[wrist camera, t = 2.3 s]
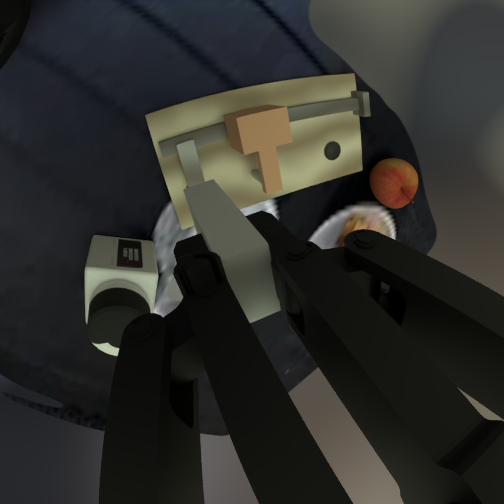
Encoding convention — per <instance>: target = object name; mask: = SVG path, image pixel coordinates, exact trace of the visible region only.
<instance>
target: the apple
mask: <svg viewBox="0 0 504 504" xmlns="http://www.w3.org/2000/svg"><path fill="white" fill-rule="evenodd" d="M369 181H370V186H371V189H372V192H373V193H374V195H375V197H376V198H377V199H378V200H379V201H380V202H381V203H382V204H384V205H385V206H388V207H390V208H401V207H403V206H405V205H406V204H408V203H409V202H410V201H411V202H412V203H414V201H412V200H411V199H412V198H413V196H414V195H415V193H416V190H417V186H418V176H417V173H416V171H415V169H414V168H413V167H412V166H411V165H410V164H409V163H407V162H406V161H404V160H401V159H397V158H389V159H384V160H382V161H380V162H378V163H377V164H376V165H375V166H374V168H373V169H372V171H371V173H370V178H369Z"/></svg>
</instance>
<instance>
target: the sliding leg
mask: <svg viewBox="0 0 504 504" xmlns="http://www.w3.org/2000/svg"><path fill="white" fill-rule="evenodd" d="M223 116H224V120H225V125H226V129H227V133H228V138H229V142H230V147H232V148H233V149H235V150H237V151H238V152H240V153H242V154H243V155H247V154H250V153H254V152H256V157H257V162H258V167H259V169H254V170H253V171H252V173H251V175H252V177H253V178H255V179H256V180H257V181H259V182H260V183H261V184H262V188H263V192H264V193H266V194H270V193H273V192H277V191H280V190H283V187H282V181H281V174H280V168H279V162H278V156H277V150H276V146H280V145H284V144H288V143H292V142H293V141H292V135H291V129H290V122H289V116H288V110H287V107H285V106H278V105H270V104H267V105H262V106H257V107H253V108H248V109H244V110H240V111H236V112H232V113H228V114H224V115H223Z"/></svg>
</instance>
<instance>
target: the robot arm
mask: <svg viewBox="0 0 504 504" xmlns="http://www.w3.org/2000/svg"><path fill="white" fill-rule="evenodd" d="M29 11H30V0H0V68H1V67H2V66H3V64H4V63H5V62H6V61H7V59H8V58H9V57H10V55H11V54H12V52H13V51H14V49H15V47H16V46H17V44H18V42H19V40H20V38H21V36H22V34H23V31H24V29H25V26H26V23H27V20H28V16H29ZM183 191H184V194H185V197H186V200H187V204H188V207H189V210H190V213H191V216H192V219H193V222H194V225H195V228H196V231H197V235H195V236H192V237H189V238H187V239H184V240H181V241H178V242H177V243H176V246H175V248H174V254H175V258H176V262H177V265H176V266H175V268H174V274H173V275H174V277H175V279H176V282H177V284H178V286H179V288H180V290H181V293H182V295H183V299H182V301H181V303H180V304H179V305H178V307H177V308H176V309H174V310H173V311H172V312H171V313H169V314H168V315H166V316H165V317H162V316H161V315H158V314H155V313H146V314H143V315H140V316H138V317H136V318H135V319H133V320H132V321H131V322H130V323H129V324H128V325H127V326H126V327H125V330H124V332H123V334H122V338H121V343H120V347H119V352H118V357H117V361H116V366H115V371H114V377H113V382H112V388H111V393H110V399H109V405H108V412H107V419H106V426H105V435H104V443H103V451H102V461H101V474H100V488H99V504H204V493H203V479H202V463H201V447H200V446H201V445H200V421H199V383H198V376H199V375H200V374H201V373H203V372H204V371H206V372H207V375H208V377H209V380H210V383H211V386H212V389H213V392H214V395H215V397H216V400H217V403H218V406H219V408H220V411H221V414H222V417H223V419H224V422H225V424H226V427H227V430H228V432H229V435H230V437H231V440H232V442H233V445H234V447H235V450H236V452H237V454H238V457H239V459H240V462H241V464H242V466H243V469H244V471H245V473H246V476H247V478H248V480H249V483H250V485H251V487H252V489H253V492H254V494H255V496H256V498H257V500H258V502H259V504H353V502H352V501H351V499H350V498H349V496H348V494H347V493H346V491H345V490H344V488H343V486H342V485H341V483H340V481H339V480H338V478H337V477H336V475H335V473H334V472H333V470H332V468H331V467H330V465H329V463H328V462H327V460H326V458H325V457H324V455H323V453H322V452H321V450H320V448H319V447H318V445H317V443H316V441H315V440H314V438H313V436H312V435H311V433H310V431H309V430H308V428H307V426H306V424H305V422H304V421H303V420H302V417H301V415H300V414H299V412H298V410H297V408H296V407H295V405H294V403H293V402H292V400H291V398H290V396H289V394H288V392H287V391H286V389H285V387H284V385H283V383H282V382H281V380H280V378H279V376H278V374H277V373H276V371H275V369H274V367H273V365H272V363H271V362H270V360H269V358H268V356H267V354H266V352H265V351H264V349H263V347H262V345H261V343H260V341H259V339H258V338H257V336H256V334H255V332H254V330H253V328H252V326H251V324H250V323H251V322H254V321H256V320H259V319H261V318H263V317H266V316H268V315H270V314H273V313H275V312H278V311H280V310H281V309H280V303H279V300H280V302H281V303H282V305H283V306H284V308H285V313H286V319H287V325H288V330H289V333H290V335H291V334H293V330H292V328H293V329H294V331H295V332H296V334H297V335H298V337H299V338H300V340H301V341H302V343H303V344H304V346H305V347H306V349H307V350H308V352H309V353H310V355H311V356H312V358H313V359H314V361H315V362H316V364H317V365H318V367H319V368H320V370H321V371H322V373H323V374H324V376H325V377H326V379H327V380H328V382H329V383H330V385H331V386H332V388H333V389H334V391H335V392H336V394H337V395H338V397H339V398H340V400H341V401H342V403H343V404H344V406H345V407H346V409H347V410H348V412H349V413H350V414H351V416H352V418H353V419H354V421H355V422H356V423H357V425H358V427H359V428H360V429H361V431H362V432H363V434H364V435H365V437H366V438H367V440H368V441H369V443H370V444H371V446H372V447H373V449H374V450H375V452H376V453H377V455H378V456H379V457H380V459H381V460H382V462H383V463H384V465H385V466H386V468H387V469H388V471H389V472H390V474H391V475H392V476H393V478H394V479H395V481H396V482H397V484H398V486H399V488H400V495H401V498H402V501H403V502H404V504H504V421H501V420H488V419H486V418H484V417H483V416H482V415H481V414H480V413H479V412H478V411H477V410H476V409H475V407H474V406H473V405H472V404H471V403H470V402H469V401H468V399H467V398H466V397H465V396H464V395H463V394H462V393H461V392H460V390H459V389H461V390H462V391H463V392H465V393H466V394H468V395H469V396H471V397H472V398H474V399H475V400H477V401H478V402H479V403H481V404H482V405H484V406H485V407H486V408H488V409H489V410H491V411H492V412H494V413H495V414H496V415H498V416H499V417H501V418H502V419H504V297H503V296H502V295H500V294H498V293H497V292H495V291H493V290H491V289H489V288H488V287H486V286H484V285H482V284H481V283H479V282H477V281H475V280H473V279H471V278H469V277H468V276H466V275H464V274H462V273H460V272H458V271H457V270H454V269H453V268H451V267H449V266H447V265H445V264H443V263H441V262H439V261H437V260H435V259H433V258H431V257H429V256H427V255H425V254H423V253H421V252H419V251H417V250H415V249H413V248H411V247H409V246H407V245H405V244H403V243H400V242H398V241H396V240H394V239H392V238H390V237H388V236H385V235H383V234H381V233H379V232H376V231H373V230H366V229H361V230H355V231H353V232H351V233H349V234H348V235H347V236H346V237H345V240H344V246H343V247H337V248H331V249H321V248H320V247H319V246H318V245H316V244H314V243H313V242H310V241H306V240H298V239H297V238H296V237H295V236H294V235H293V234H292V233H291V232H290V231H289V230H288V229H287V228H286V227H285V226H283V224H282V223H281V222H280V221H278V220H277V219H276V218H275V217H274V216H273V215H272V214H270V213H267V212H264V211H259V212H256V213H253V214H250V215H248V216H244V214H243V213H242V212H241V211H240V210H239V209H238V207H237V206H236V205H235V204H234V203H233V202H232V200H231V199H230V198H229V197H228V196H227V195H226V193H225V192H224V191H223V190H222V189H221V188H220V186H219V185H218V184H217V183H216V182H215V181H214V179H212V180H209V181H206V182H203V183H200V184H197V185H194V186H191V187H188V188H186V189H183ZM382 282H384V283H385V284H387V285H389V286H390V289H389V290H386V289H384V288H382ZM457 387H458V388H459V389H458V388H457Z"/></svg>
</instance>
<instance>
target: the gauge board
mask: <svg viewBox="0 0 504 504" xmlns="http://www.w3.org/2000/svg"><path fill="white" fill-rule="evenodd" d="M267 104H270V105H278V106H285V107H287V110H288V116H289V122H290V129H291V135H292V141H293V142H292V143H288V144H284V145H280V146H276V150H277V156H278V162H279V168H280V174H281V181H282V187H283V190H280V191H277V192H273V193H270V194H266V193H264V192H263V188H262V184H261V183H260V182H259V181H257V180H256V179H255V178H253V177H252V175H251V173H252V171H253V170H254V169H259V167H258V162H257V157H256V152H254V153H250V154H247V155H243V154H242V153H240V152H238V151H237V150H235V149H233V148H232V147H230V142H229V138H228V133H227V129H226V125H225V120H224V116H223V115H224V114H228V113H232V112H236V111H240V110H244V109H248V108H253V107H257V106H262V105H267ZM359 116H363V117H367V116H371V115H370V104H369V93H368V92H363V91H356V83H355V76H354V74H335V75H323V76H313V77H305V78H297V79H290V80H283V81H276V82H270V83H265V84H259V85H254V86H249V87H244V88H239V89H234V90H230V91H225V92H221V93H217V94H213V95H209V96H205V97H201V98H198V99H194V100H190V101H187V102H183V103H180V104H177V105H173V106H170V107H167V108H164V109H161V110H158V111H155V112H152V113H149V114H146V115H145V117H146V120H147V123H148V127H149V130H150V134H151V137H152V140H153V143H154V147H155V150H156V153H157V156H158V160H159V163H160V166H161V169H162V172H163V175H164V178H165V181H166V184H167V187H168V190H169V193H170V196H171V199H172V202H173V205H174V208H175V211H176V214H177V217H178V219H179V222H180V225H181V228H182V230H183V229H186V228H189V227H191V226H194V222H193V219H192V216H191V213H190V210H189V207H188V204H187V200H186V197H185V194H184V191H183V189H186V188H188V187H191V186H194V185H197V184H200V183H203V182H206V181H209V180H212V179H214V181H215V182H216V183H217V184H218V185H219V186H220V188H221V189H222V190H223V191H224V192H225V193H226V195H227V196H228V197H229V198H230V199H231V200H232V202H233V203H234V204H235V205H236V206H237V207H238V209H242V208H245V207H248V206H251V205H254V204H257V203H260V202H263V201H266V200H269V199H272V198H275V197H278V196H281V195H284V194H287V193H290V192H293V191H296V190H299V189H302V188H306V187H309V186H312V185H315V184H318V183H322V182H325V181H328V180H331V179H335V178H338V177H341V176H345V175H348V174H351V173H355V172H358V171H362V151H361V135H360V122H359Z"/></svg>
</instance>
